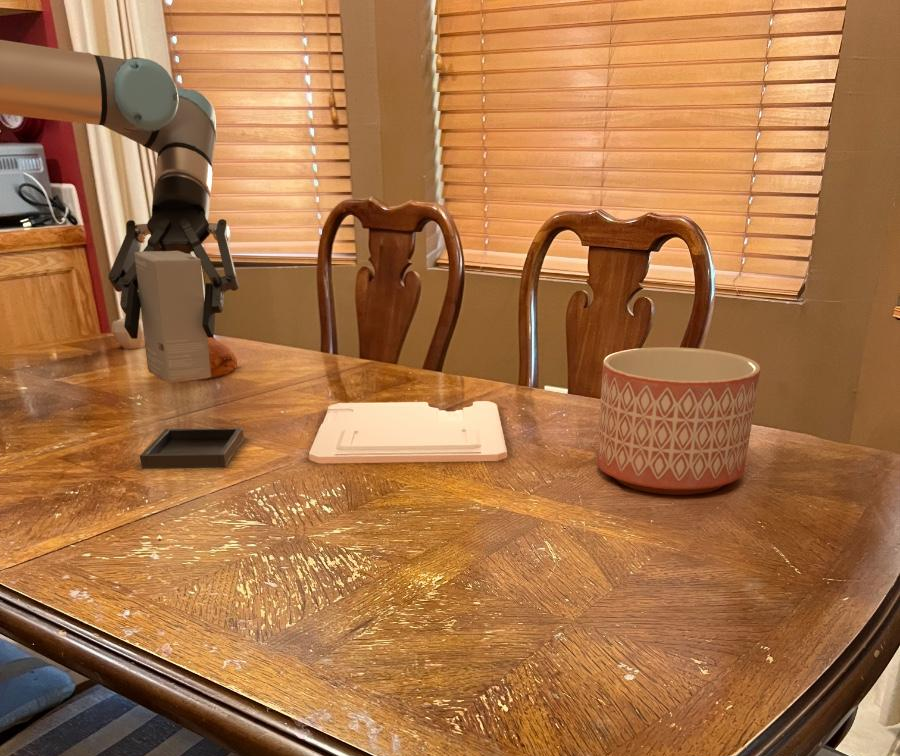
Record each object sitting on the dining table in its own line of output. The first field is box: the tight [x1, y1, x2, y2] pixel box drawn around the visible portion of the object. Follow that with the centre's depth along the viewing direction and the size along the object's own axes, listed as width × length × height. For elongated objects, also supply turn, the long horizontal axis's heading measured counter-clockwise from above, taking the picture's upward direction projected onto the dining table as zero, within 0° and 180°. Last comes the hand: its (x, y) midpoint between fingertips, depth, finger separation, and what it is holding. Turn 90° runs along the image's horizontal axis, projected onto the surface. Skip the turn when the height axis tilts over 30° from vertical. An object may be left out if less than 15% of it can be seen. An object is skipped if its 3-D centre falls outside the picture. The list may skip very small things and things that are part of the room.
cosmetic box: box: [134, 250, 211, 384], centre depth 115 cm, size 8×7×16 cm
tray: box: [308, 400, 508, 464], centre depth 132 cm, size 28×28×2 cm
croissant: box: [196, 337, 238, 381], centre depth 168 cm, size 14×16×8 cm
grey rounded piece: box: [111, 317, 145, 350], centre depth 190 cm, size 8×8×7 cm
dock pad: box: [139, 427, 245, 470], centre depth 124 cm, size 12×13×2 cm
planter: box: [595, 346, 761, 496], centre depth 111 cm, size 19×19×15 cm
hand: (169, 332), depth 113 cm, fingers closed on cosmetic box, 9 cm apart
